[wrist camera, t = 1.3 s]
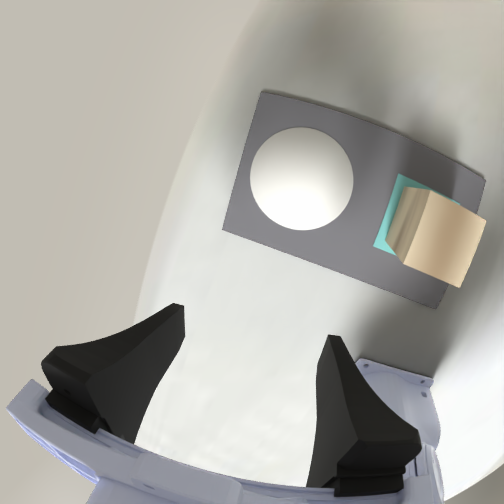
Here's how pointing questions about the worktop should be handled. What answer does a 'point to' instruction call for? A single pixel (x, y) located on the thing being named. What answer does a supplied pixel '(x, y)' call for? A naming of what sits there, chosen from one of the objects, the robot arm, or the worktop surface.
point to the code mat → (338, 191)
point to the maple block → (434, 235)
